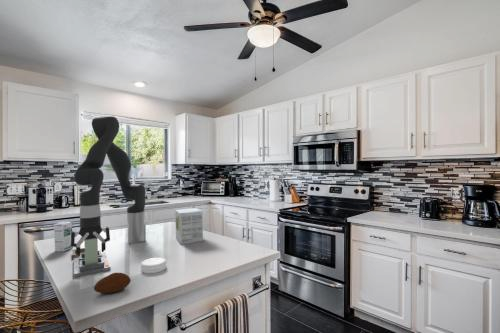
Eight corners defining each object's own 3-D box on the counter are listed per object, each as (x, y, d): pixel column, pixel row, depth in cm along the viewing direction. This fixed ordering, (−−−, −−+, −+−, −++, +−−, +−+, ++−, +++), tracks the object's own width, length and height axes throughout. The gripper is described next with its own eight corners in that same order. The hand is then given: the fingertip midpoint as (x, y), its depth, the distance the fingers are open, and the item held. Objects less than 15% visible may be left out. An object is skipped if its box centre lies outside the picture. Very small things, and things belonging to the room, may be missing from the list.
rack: (105, 255, 132) (105, 248, 132) (110, 270, 113) (110, 262, 113) (73, 261, 125) (73, 254, 125) (73, 277, 106) (73, 269, 106)
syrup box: (63, 251, 140) (63, 223, 140) (54, 251, 141) (53, 223, 141) (73, 248, 145) (72, 221, 145) (63, 247, 147) (63, 221, 146)
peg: (97, 263, 117) (96, 236, 117) (98, 266, 114) (97, 238, 113) (85, 265, 115) (84, 237, 115) (85, 269, 111) (84, 240, 111)
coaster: (160, 263, 121) (160, 255, 121) (170, 269, 114) (169, 261, 114) (137, 269, 115) (137, 260, 115) (146, 276, 107) (146, 267, 107)
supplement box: (175, 239, 160) (174, 209, 160) (197, 235, 166) (196, 207, 166) (180, 244, 148) (179, 213, 148) (203, 241, 154) (202, 210, 154)
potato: (93, 292, 94) (92, 274, 94) (129, 284, 100) (128, 266, 100) (94, 299, 88) (94, 280, 88) (132, 290, 95) (131, 272, 95)
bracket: (93, 250, 141) (93, 246, 141) (94, 255, 133) (94, 251, 133) (72, 253, 136) (72, 249, 136) (72, 259, 128) (72, 255, 128)
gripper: (108, 212, 121) (109, 248, 121) (70, 216, 113) (71, 254, 113) (110, 214, 115) (111, 252, 115) (70, 219, 107) (71, 259, 107)
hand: (91, 253), depth 114 cm, fingers open, 8 cm apart
